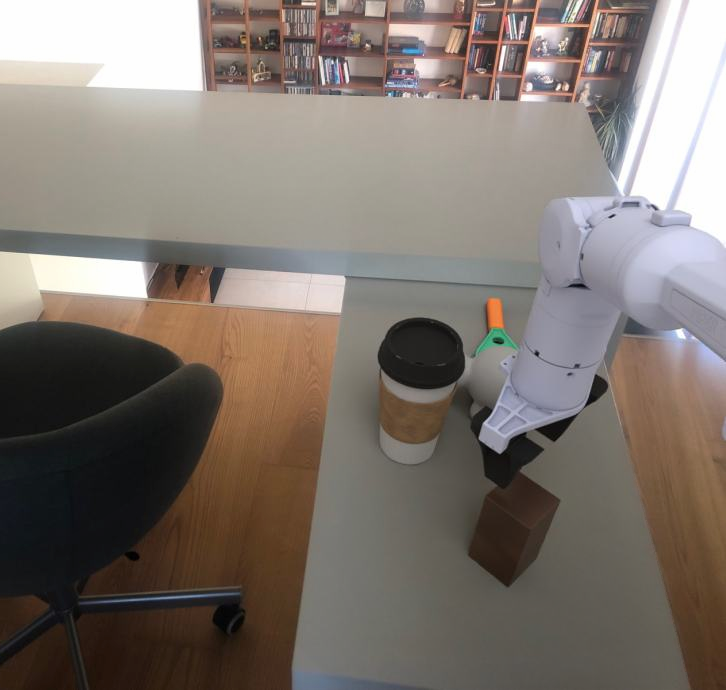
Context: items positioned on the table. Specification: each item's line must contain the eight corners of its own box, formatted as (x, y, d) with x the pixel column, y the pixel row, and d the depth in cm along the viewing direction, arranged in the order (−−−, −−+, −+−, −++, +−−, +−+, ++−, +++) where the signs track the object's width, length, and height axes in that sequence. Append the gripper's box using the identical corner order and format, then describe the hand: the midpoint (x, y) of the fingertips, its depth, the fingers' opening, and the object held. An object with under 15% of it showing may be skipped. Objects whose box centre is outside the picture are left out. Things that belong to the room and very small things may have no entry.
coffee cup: (361, 464, 73) (372, 359, 64) (375, 409, 79) (387, 305, 70) (441, 482, 71) (466, 376, 62) (450, 424, 77) (473, 319, 68)
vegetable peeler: (527, 388, 82) (530, 377, 80) (474, 382, 82) (477, 372, 81) (515, 310, 93) (518, 300, 92) (469, 306, 94) (471, 295, 93)
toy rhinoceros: (425, 372, 84) (435, 317, 78) (528, 397, 80) (546, 341, 75) (412, 413, 79) (421, 357, 73) (521, 441, 75) (539, 384, 70)
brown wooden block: (536, 558, 64) (561, 499, 59) (508, 587, 62) (530, 529, 56) (495, 527, 67) (515, 468, 61) (467, 554, 65) (484, 495, 59)
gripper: (567, 279, 58) (529, 392, 67) (459, 360, 51) (433, 473, 60) (650, 319, 54) (597, 433, 63) (544, 413, 47) (502, 526, 56)
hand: (521, 456), depth 61 cm, fingers open, 7 cm apart
